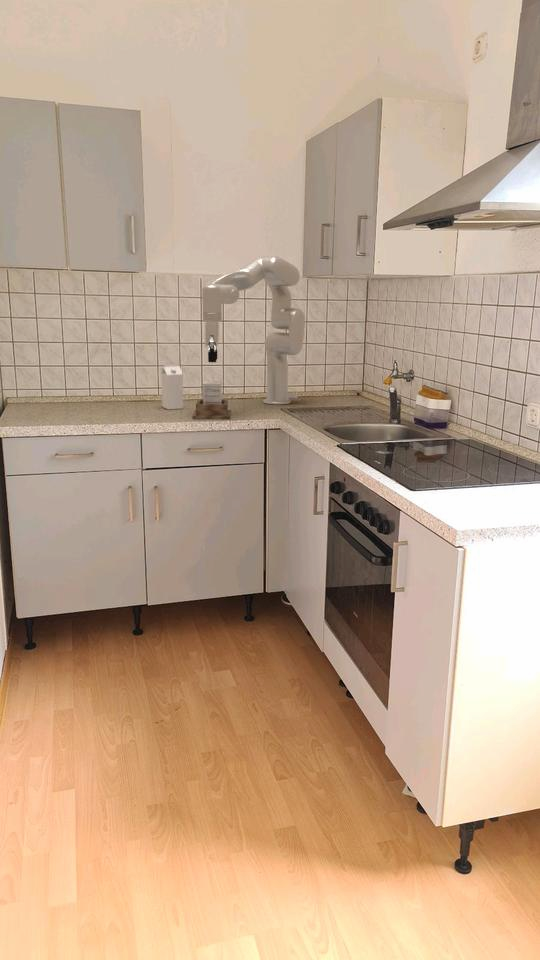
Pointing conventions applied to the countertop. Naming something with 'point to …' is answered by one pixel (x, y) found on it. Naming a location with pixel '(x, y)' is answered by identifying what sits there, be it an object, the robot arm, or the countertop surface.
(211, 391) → the supplement box
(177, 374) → the milk carton
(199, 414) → the walnut caddy
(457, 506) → the countertop surface
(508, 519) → the countertop surface
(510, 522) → the countertop surface
